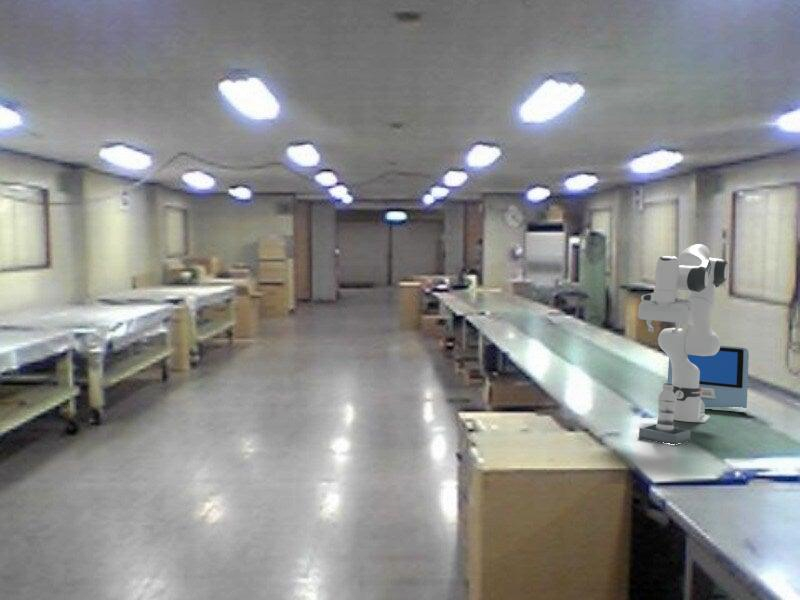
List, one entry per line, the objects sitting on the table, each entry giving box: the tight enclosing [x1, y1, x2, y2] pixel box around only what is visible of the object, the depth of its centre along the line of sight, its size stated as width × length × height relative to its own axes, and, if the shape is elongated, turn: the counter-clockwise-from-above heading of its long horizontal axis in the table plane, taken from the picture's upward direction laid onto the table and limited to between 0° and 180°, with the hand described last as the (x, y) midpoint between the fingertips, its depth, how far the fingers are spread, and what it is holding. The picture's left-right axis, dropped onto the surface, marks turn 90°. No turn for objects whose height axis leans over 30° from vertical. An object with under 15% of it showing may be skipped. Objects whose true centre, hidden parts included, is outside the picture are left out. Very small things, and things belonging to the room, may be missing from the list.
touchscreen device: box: [666, 345, 749, 408], centre depth 376 cm, size 35×20×30 cm, turn 73°
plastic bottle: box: [655, 382, 677, 434], centre depth 298 cm, size 6×7×20 cm
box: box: [638, 423, 692, 445], centre depth 298 cm, size 14×14×4 cm
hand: (662, 333), depth 309 cm, fingers open, 8 cm apart
